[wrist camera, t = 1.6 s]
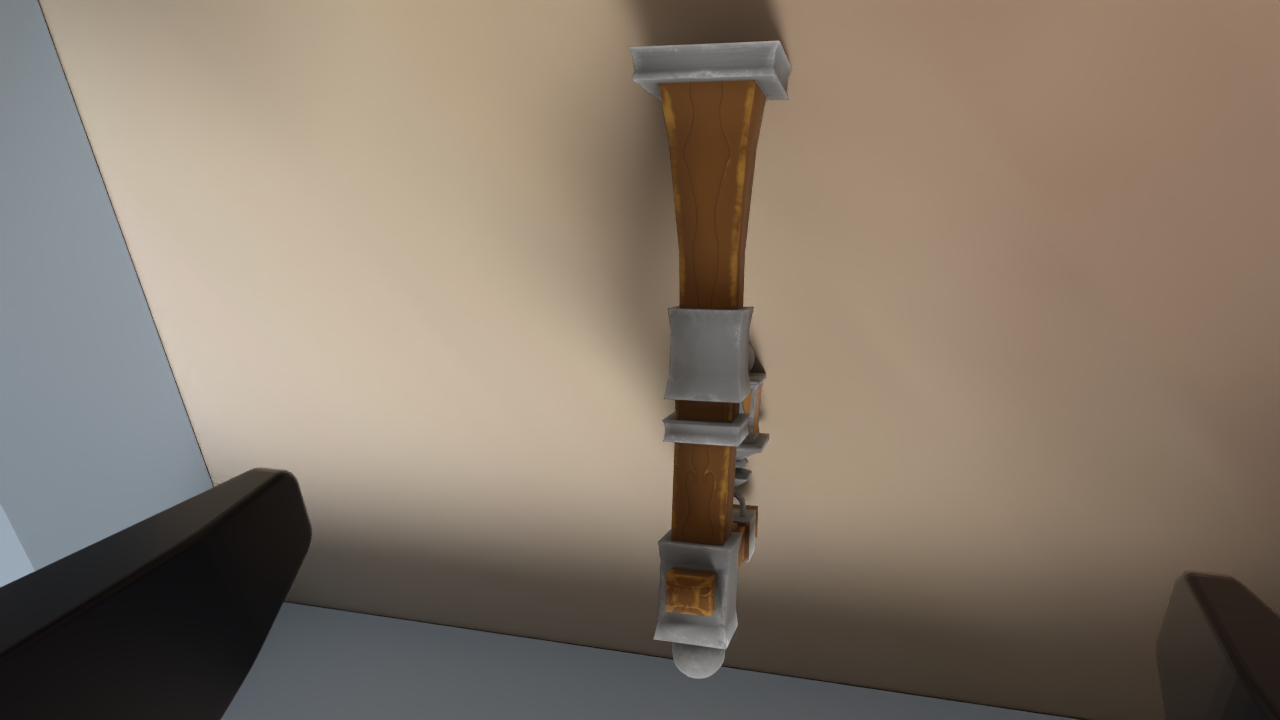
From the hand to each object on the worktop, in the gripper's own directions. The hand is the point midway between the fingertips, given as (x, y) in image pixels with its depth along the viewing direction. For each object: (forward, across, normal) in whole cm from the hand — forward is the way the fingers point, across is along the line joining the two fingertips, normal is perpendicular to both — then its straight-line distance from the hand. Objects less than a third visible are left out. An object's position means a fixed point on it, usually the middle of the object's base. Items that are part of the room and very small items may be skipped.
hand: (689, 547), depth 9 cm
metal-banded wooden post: (+6, 0, 0) cm, 6 cm away
